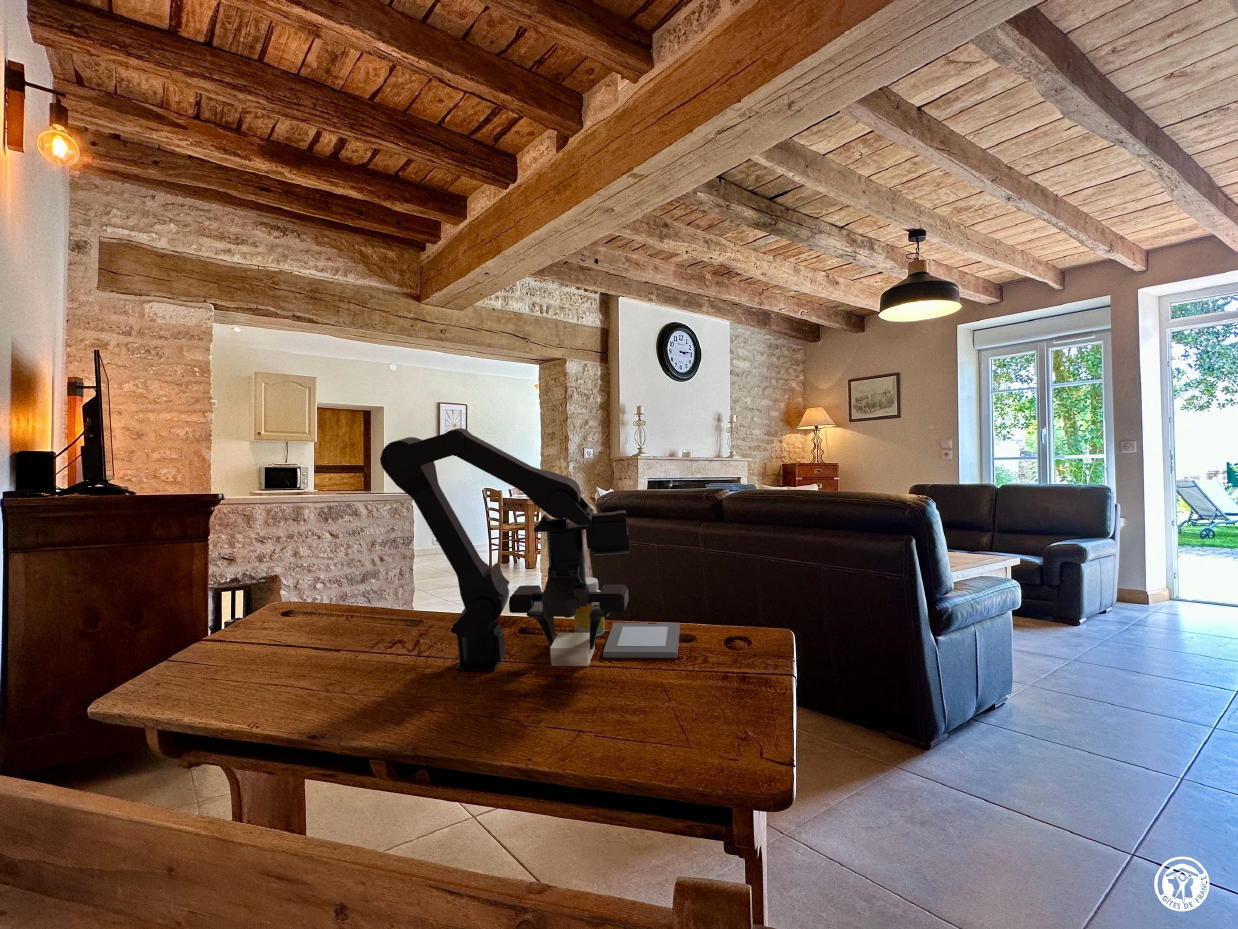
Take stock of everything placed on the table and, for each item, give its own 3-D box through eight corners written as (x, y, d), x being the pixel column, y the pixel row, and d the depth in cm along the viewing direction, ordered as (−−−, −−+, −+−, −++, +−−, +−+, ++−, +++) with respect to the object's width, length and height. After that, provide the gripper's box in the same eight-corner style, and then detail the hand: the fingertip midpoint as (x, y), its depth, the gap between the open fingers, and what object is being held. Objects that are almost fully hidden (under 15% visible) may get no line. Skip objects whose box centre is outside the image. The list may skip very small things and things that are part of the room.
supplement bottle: (601, 639, 109) (598, 585, 108) (571, 638, 110) (567, 585, 109) (608, 627, 114) (604, 575, 113) (579, 626, 115) (576, 575, 114)
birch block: (551, 665, 100) (550, 648, 100) (559, 649, 106) (558, 632, 105) (588, 666, 99) (587, 648, 99) (594, 649, 105) (593, 632, 105)
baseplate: (603, 657, 102) (603, 651, 102) (613, 628, 114) (613, 622, 113) (677, 658, 100) (676, 651, 100) (679, 628, 112) (679, 622, 112)
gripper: (493, 573, 94) (502, 671, 96) (617, 571, 91) (623, 672, 93) (515, 552, 105) (523, 640, 107) (626, 549, 102) (631, 640, 104)
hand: (572, 648), depth 102 cm, fingers closed on birch block, 6 cm apart
